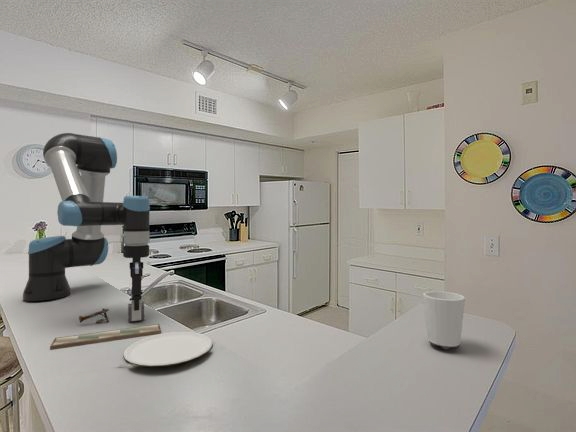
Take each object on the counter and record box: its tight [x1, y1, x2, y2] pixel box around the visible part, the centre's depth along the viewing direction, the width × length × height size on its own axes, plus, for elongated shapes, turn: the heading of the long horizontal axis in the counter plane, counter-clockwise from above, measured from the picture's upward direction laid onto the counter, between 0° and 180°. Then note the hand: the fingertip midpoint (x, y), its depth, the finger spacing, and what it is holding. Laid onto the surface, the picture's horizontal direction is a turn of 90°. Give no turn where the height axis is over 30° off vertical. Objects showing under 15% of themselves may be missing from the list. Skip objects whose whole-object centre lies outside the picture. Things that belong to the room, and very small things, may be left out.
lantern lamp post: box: [78, 308, 109, 324], centre depth 102 cm, size 4×2×8 cm
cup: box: [422, 290, 466, 350], centre depth 85 cm, size 10×10×13 cm
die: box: [127, 301, 145, 322], centre depth 105 cm, size 5×4×5 cm
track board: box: [49, 323, 162, 351], centre depth 91 cm, size 6×26×1 cm, turn 116°
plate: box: [123, 331, 213, 368], centre depth 83 cm, size 21×21×1 cm
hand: (136, 317), depth 105 cm, fingers closed on die, 4 cm apart
